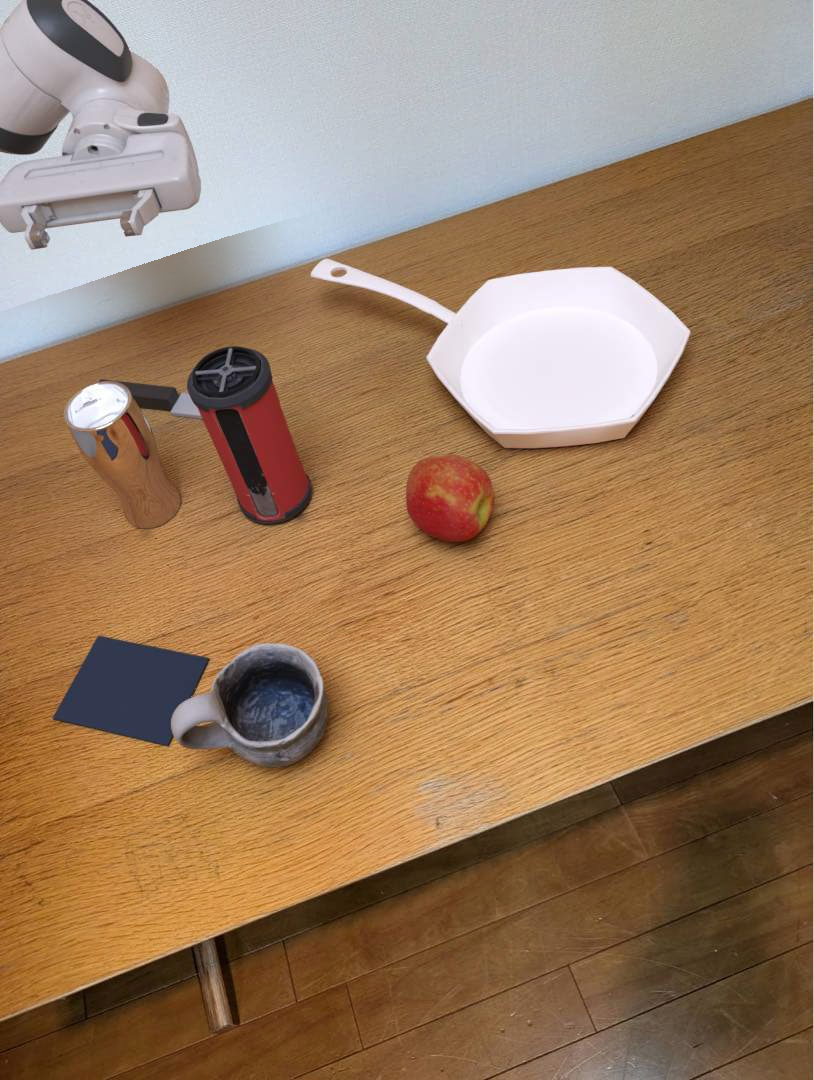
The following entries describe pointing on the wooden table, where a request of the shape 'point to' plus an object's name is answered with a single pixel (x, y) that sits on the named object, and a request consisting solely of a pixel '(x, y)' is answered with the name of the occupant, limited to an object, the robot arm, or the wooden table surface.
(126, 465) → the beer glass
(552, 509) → the wooden table surface
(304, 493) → the speaker
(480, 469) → the apple
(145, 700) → the cloth
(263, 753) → the mug
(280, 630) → the wooden table surface
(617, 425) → the pan
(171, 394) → the spatula
